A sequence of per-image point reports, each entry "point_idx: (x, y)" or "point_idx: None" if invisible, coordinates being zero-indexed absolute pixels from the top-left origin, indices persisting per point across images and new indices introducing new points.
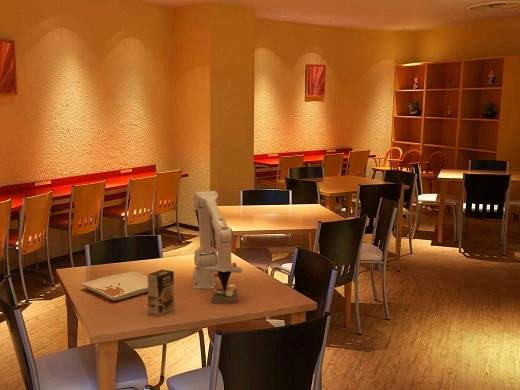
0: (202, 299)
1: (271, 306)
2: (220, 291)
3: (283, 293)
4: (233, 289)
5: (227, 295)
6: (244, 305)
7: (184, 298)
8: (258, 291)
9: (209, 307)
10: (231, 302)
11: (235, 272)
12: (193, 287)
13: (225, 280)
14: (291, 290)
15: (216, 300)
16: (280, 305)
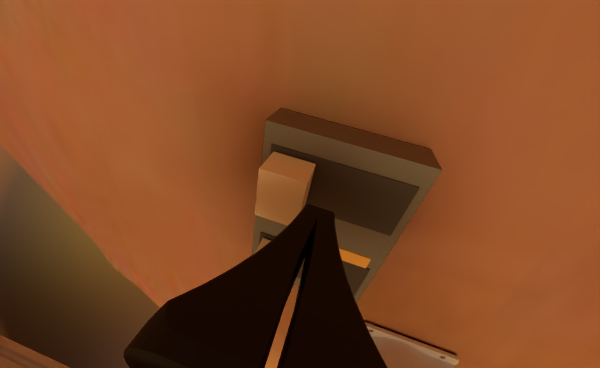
0: (472, 230)
1: (51, 19)
2: (344, 257)
3: (89, 202)
4: (262, 246)
5: (305, 164)
6: (207, 63)
7: (597, 276)
8: (182, 246)
9: (493, 44)
10: (290, 113)
11: (51, 361)
12: (457, 360)
13: (277, 268)
14: (78, 222)
15: (399, 148)
16: (18, 35)
